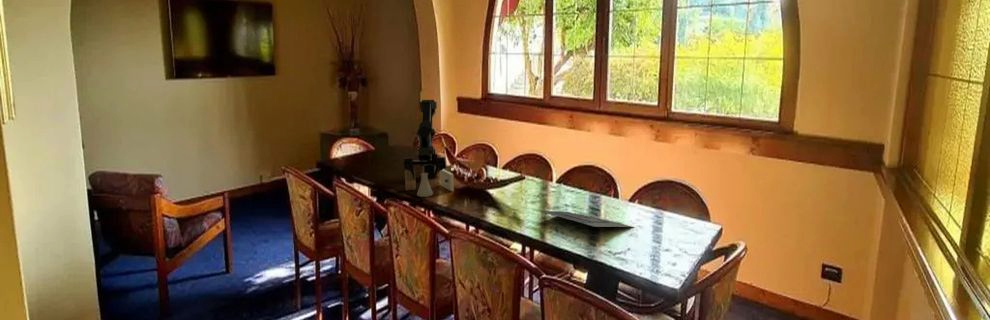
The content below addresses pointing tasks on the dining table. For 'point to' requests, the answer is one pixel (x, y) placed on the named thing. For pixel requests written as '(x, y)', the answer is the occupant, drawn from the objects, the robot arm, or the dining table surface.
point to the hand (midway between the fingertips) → (424, 179)
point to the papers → (585, 219)
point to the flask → (424, 186)
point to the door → (447, 180)
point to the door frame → (411, 182)
